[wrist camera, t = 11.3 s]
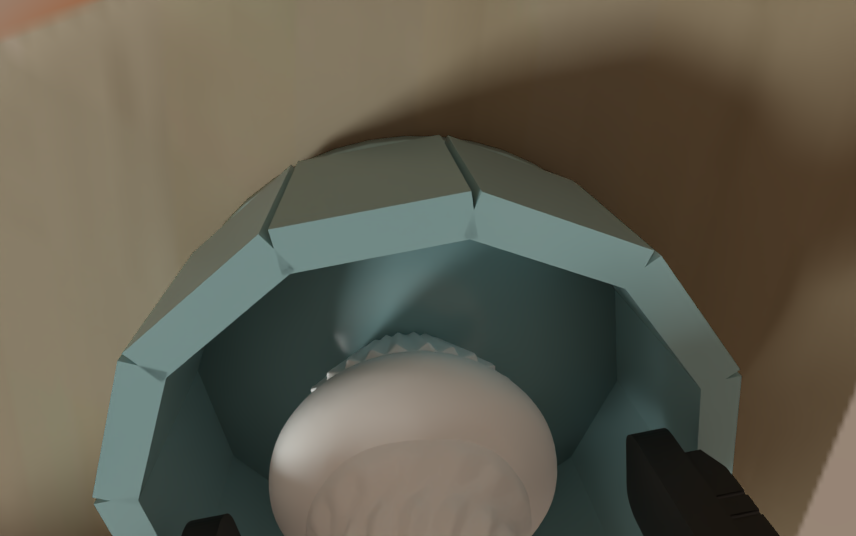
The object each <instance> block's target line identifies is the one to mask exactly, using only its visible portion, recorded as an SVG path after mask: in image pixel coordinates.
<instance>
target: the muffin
mask: <svg viewBox="0 0 856 536" xmlns="http://www.w3.org/2000/svg"><path fill="white" fill-rule="evenodd" d="M556 481H557V457H556V451H555V445H554V441H553V438H552V435H551V432H550V429H549V427H548V424H547V422H546V420H545V418H544V416H543V415H542V413H541V412H540V410H539V409H538V407H537V406H536V405H535V403H534V402H533V401H532V400H531V399H530V397H529V396H528V395H527V394H526V393H525V392H524V391H523V390H521V389H520V388H519V387H518V386H517V385H516V384H515V383H513V382H512V381H511V380H510V379H509V378H508V377H506V376H504V375H502V374H500V373H499V372H497V371H496V370H495V366H494V365H493V364H492V363H490V362H488V361H485V360H483V359H481V358H479V357H477V356H476V355H475V353H473V352H470V351H468V350H466V349H463V348H461V347H459V346H456V345H454V344H451V343H449V342H446V341H444V340H442V339H439V338H437V337H432V336H430V335H428V334H425V333H424V334H422V335H418V334H417V333H415V332H412V333H410V334H407V335H404V334H401V333H396V334H395V335H394V336H392V337H391V336H388V335H385V336H384V337H383V338H382V339H381V340H376V339H375V340H374V341H372V342H371V343H370V344H368V345H367V346H364V347H363V348H361V349H360V350H358V351H357V352H356V353H354V354H353V355H351V356H350V357H348V358H347V359H346V360H344V361H343V362H341V363H340V364H339V365H337V366H336V367H334V368H333V369H331V370H330V371H329V372H328V373H327V376H326V377H325V378H324V379H322V380H321V381H320V382H318V383H317V384H316V385H314V386H313V387H312V388H311V394H310V395H309V396H308V397H307V398H306V399H305V400H304V401H303V402H302V403H301V404H300V405H299V406H298V407H297V408H296V410H295V411H294V412H293V413H292V415H291V416H290V417H289V419H288V420H287V422H286V424H285V425H284V427H283V429H282V430H281V432H280V434H279V437H278V439H277V441H276V444H275V447H274V450H273V454H272V458H271V462H270V470H269V495H270V502H271V507H272V511H273V514H274V517H275V520H276V522H277V524H278V526H279V528H280V530H281V531H282V533H283V535H284V536H532V535H533V534H534V532H535V531H536V530H537V528H538V527H539V525H540V524H541V522H542V521H543V519H544V517H545V516H546V514H547V512H548V510H549V508H550V505H551V503H552V500H553V497H554V493H555V488H556Z"/></svg>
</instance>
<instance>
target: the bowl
mask: <svg viewBox="0 0 856 536" xmlns="http://www.w3.org/2000/svg"><path fill="white" fill-rule="evenodd" d="M412 332H415V333H417V334H418V335H422V334H424V333H425V334H428V335H430V336H432V337H437V338H439V339H442V340H444V341H446V342H449V343H451V344H454V345H456V346H459V347H461V348H463V349H466V350H468V351H470V352H473V353H475V355H476V356H477V357H479V358H481V359H483V360H485V361H488V362H490V363H492V364H493V365H494V366H495V370H496V371H497V372H499V373H500V374H502V375H504V376H506V377H508V378H509V379H510V380H511V381H512V382H513V383H515V384H516V385H517V386H518V387H519V388H520V389H521V390H523V391H524V392H525V393H526V394H527V395H528V396H529V397H530V399H531V400H532V401H533V402H534V403H535V405H536V406H537V407H538V409H539V410H540V412H541V413H542V415H543V416H544V418H545V420H546V422H547V424H548V427H549V429H550V432H551V435H552V438H553V441H554V445H555V451H556V457H557V481H556V488H555V493H554V497H553V500H552V503H551V505H550V508H549V510H548V512H547V514H546V516H545V517H544V519H543V521H542V522H541V524H540V525H539V527H538V528H537V530H536V531H535V532H534V534H533V535H532V536H643V534H642V532H641V530H640V528H639V526H638V524H637V522H636V520H635V518H634V516H633V513H632V510H631V507H630V504H629V500H628V495H627V485H626V437H627V436H628V435H630V434H635V433H640V432H645V431H650V430H655V429H660V428H666V429H668V430H669V431H670V432H671V434H672V435H673V436H674V438H675V439H676V440H677V442H678V443H679V445H680V446H681V448H682V449H683V450H684V452H690V451H695V450H700V449H701V450H702V451H704V452H705V453H707V454H708V455H709V456H711V457H712V458H714V459H715V460H717V461H718V462H720V463H721V464H723V465H724V466H725V467H727V469H728V470H729V471H730V473H731V474H732V471H733V460H734V450H735V440H736V430H737V419H738V409H739V399H740V389H741V378H742V376H741V375H740V374H739V373H738V372H737V371H739V370H740V369H739V367H738V366H737V364H736V363H735V361H734V360H733V358H732V357H731V356H730V354H729V353H728V351H727V350H726V348H725V347H724V345H723V344H722V343H721V341H720V340H719V338H718V337H717V335H716V334H715V332H714V331H713V330H712V328H711V327H710V325H709V324H708V322H707V321H706V320H705V318H704V317H703V315H702V314H701V312H700V311H699V309H698V308H697V307H696V305H695V304H694V302H693V301H692V299H691V298H690V296H689V295H688V294H687V292H686V291H685V289H684V288H683V286H682V285H681V283H680V282H679V281H678V279H677V278H676V276H675V275H674V273H673V272H672V271H671V269H670V268H669V266H668V265H667V263H666V262H665V260H664V259H663V258H662V256H661V255H660V254H659V253H657V252H656V251H655V250H654V249H653V248H652V247H650V246H649V245H648V244H647V243H646V242H645V241H643V240H642V239H641V238H640V237H639V236H638V235H636V234H635V233H634V232H633V231H632V230H631V229H629V228H628V227H627V226H626V225H625V224H624V223H622V222H621V221H620V220H619V219H618V218H617V217H615V216H614V215H613V214H612V213H611V212H610V211H608V210H607V209H606V208H605V207H604V206H602V205H601V204H600V203H599V202H598V201H597V200H595V199H594V198H593V197H592V196H591V195H590V194H588V193H587V192H586V191H585V190H584V189H583V188H581V187H580V186H579V185H577V184H576V183H575V182H574V181H573V180H570V179H567V178H564V177H562V176H559V175H556V174H553V173H550V172H548V171H545V170H543V169H541V168H540V167H538V166H537V165H535V164H534V163H531V162H529V161H527V160H525V159H522V158H520V157H518V156H516V155H513V154H511V153H509V152H507V151H504V150H501V149H498V148H494V147H491V146H487V145H484V144H480V143H477V142H473V141H467V140H460V139H456V138H454V137H451V136H448V135H447V137H441V136H440V135H435V136H399V137H391V138H382V139H374V140H368V141H364V142H360V143H356V144H352V145H348V146H344V147H340V148H336V149H333V150H331V151H329V152H326V153H324V154H321V155H319V156H316V157H314V158H311V159H308V160H302V161H298V163H297V165H296V166H295V167H293V166H292V165H290V166H289V167H288V168H287V169H286V170H285V171H284V172H282V173H281V174H280V175H279V176H277V177H276V178H274V179H273V180H271V181H270V182H269V183H267V184H266V185H265V186H263V187H262V188H261V189H260V190H258V191H257V192H256V193H254V194H253V195H252V196H251V197H249V198H248V199H247V200H246V201H245V202H244V203H243V204H242V205H241V206H240V207H239V208H238V209H237V210H236V211H235V212H234V213H233V214H232V215H231V216H230V218H229V219H228V220H227V221H226V222H225V223H224V224H223V226H222V227H221V228H220V229H219V230H218V231H217V232H215V233H214V234H213V235H212V236H211V237H210V238H209V239H208V240H206V241H205V242H204V243H203V244H202V245H201V246H200V247H199V248H197V249H196V250H195V251H194V252H193V253H192V254H191V256H190V257H189V259H188V260H187V262H186V263H185V264H184V266H183V267H182V269H181V270H180V271H179V273H178V274H177V276H176V277H175V279H174V280H173V281H172V283H171V284H170V286H169V287H168V289H167V290H166V291H165V293H164V294H163V296H162V297H161V299H160V300H159V301H158V303H157V304H156V306H155V307H154V308H153V310H152V311H151V313H150V314H149V316H148V317H147V318H146V320H145V321H144V323H143V324H142V326H141V327H140V328H139V330H138V331H137V333H136V334H135V335H134V337H133V338H132V340H131V341H130V343H129V344H128V345H127V347H126V348H125V350H124V351H123V353H122V355H121V357H120V358H119V359H118V361H117V366H116V372H115V377H114V383H113V388H112V393H111V399H110V404H109V410H108V415H107V421H106V426H105V431H104V437H103V442H102V448H101V453H100V459H99V464H98V469H97V475H96V480H95V486H94V491H93V496H92V498H97V499H96V501H95V503H94V506H95V507H96V509H97V511H98V512H99V514H100V516H101V517H102V519H103V521H104V522H105V524H106V526H107V527H108V529H109V531H110V532H111V534H112V536H181V535H182V532H183V530H184V527H185V526H186V524H187V523H188V522H189V521H192V520H197V519H202V518H207V517H212V516H217V515H222V514H227V513H228V514H230V515H231V516H232V517H233V519H234V521H235V523H236V526H237V528H238V530H239V532H240V535H241V536H284V535H283V533H282V531H281V530H280V528H279V526H278V524H277V522H276V520H275V517H274V514H273V511H272V507H271V502H270V495H269V470H270V462H271V458H272V454H273V450H274V447H275V444H276V441H277V439H278V437H279V434H280V432H281V430H282V429H283V427H284V425H285V424H286V422H287V420H288V419H289V417H290V416H291V415H292V413H293V412H294V411H295V410H296V408H297V407H298V406H299V405H300V404H301V403H302V402H303V401H304V400H305V399H306V398H307V397H308V396H309V395H310V394H311V388H312V387H313V386H314V385H316V384H317V383H318V382H320V381H321V380H322V379H324V378H325V377H326V376H327V373H328V372H329V371H330V370H331V369H333V368H334V367H336V366H337V365H339V364H340V363H341V362H343V361H344V360H346V359H347V358H348V357H350V356H351V355H353V354H354V353H356V352H357V351H358V350H360V349H361V348H363V347H364V346H367V345H368V344H370V343H371V342H372V341H374V340H375V339H376V340H381V339H382V338H383V337H384V336H385V335H388V336H391V337H392V336H394V335H395V334H396V333H401V334H404V335H407V334H410V333H412Z"/></svg>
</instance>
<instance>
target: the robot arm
mask: <svg viewBox="0 0 856 536" xmlns="http://www.w3.org/2000/svg"><path fill="white" fill-rule="evenodd" d="M626 485H627V495H628V500H629V504H630V507H631V510H632V513H633V516H634V518H635V520H636V522H637V524H638V526H639V528H640V530H641V532H642V534H643V536H779V534H778V533H777V532H776V531H775V529H774V528H773V527H772V525H771V524H770V523H769V522H768V520H767V519H766V518H765V516H764V515H763V514H760V512H759V509H758V507H757V506H756V505H755V504H754V502H753V501H752V500H751V498H750V497H749V496H748V495H746V494H745V493H744V489H743V488H742V487H741V485H740V484H739V483H738V482H737V480H736V479H735V478H734V476H733V475H732V474H731V473H730V471H729V470H728V469H727V467H725V466H724V465H723V464H721V463H720V462H718V461H717V460H715V459H714V458H712V457H711V456H709V455H708V454H707V453H705V452H704V451H702V450H701V449H700V450H695V451H690V452H684V450H683V449H682V448H681V446H680V445H679V443H678V442H677V440H676V439H675V438H674V436H673V435H672V434H671V432H670V431H669V430H668V429H666V428H660V429H655V430H650V431H645V432H640V433H635V434H630V435H628V436H627V437H626ZM181 536H241V535H240V532H239V530H238V528H237V526H236V523H235V521H234V519H233V517H232V516H231V515H230V514H228V513H227V514H222V515H217V516H212V517H207V518H202V519H197V520H192V521H189V522H188V523H187V524H186V526H185V527H184V530H183V532H182V535H181Z"/></svg>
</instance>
